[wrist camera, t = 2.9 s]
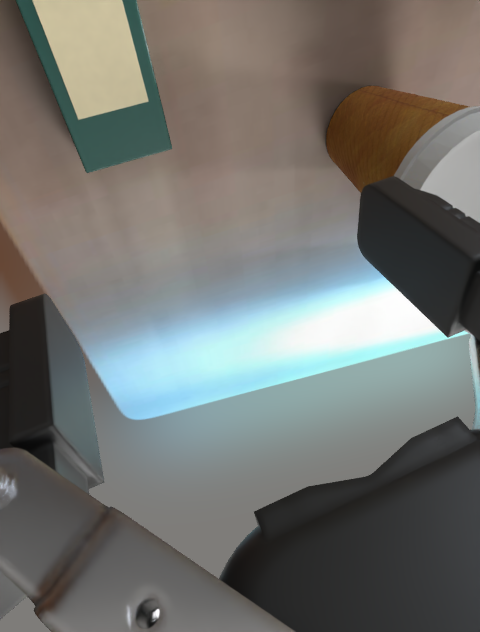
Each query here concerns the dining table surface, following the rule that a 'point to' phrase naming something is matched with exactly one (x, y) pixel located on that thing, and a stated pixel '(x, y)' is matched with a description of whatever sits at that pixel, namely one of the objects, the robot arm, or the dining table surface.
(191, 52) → the dining table surface
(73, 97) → the tea packet
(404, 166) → the disposable coffee cup
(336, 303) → the dining table surface
